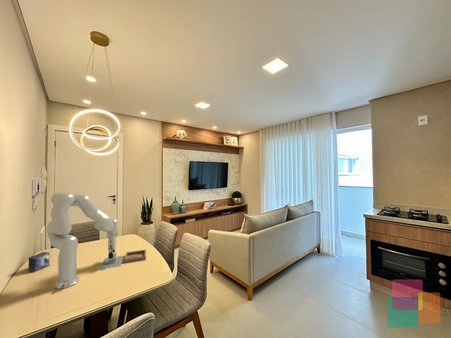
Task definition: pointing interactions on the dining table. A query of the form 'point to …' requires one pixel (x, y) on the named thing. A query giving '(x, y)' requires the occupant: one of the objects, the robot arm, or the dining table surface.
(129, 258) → the walnut bin
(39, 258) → the small box
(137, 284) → the dining table surface
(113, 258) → the sage block
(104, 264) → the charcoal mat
